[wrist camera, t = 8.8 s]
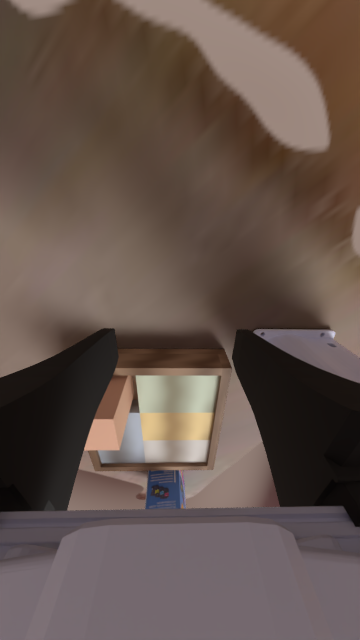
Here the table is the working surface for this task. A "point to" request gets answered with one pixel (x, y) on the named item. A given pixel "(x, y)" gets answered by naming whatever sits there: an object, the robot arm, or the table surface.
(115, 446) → the terracotta block
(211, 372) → the puzzle tray
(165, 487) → the ink cartridge box
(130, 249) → the table surface
